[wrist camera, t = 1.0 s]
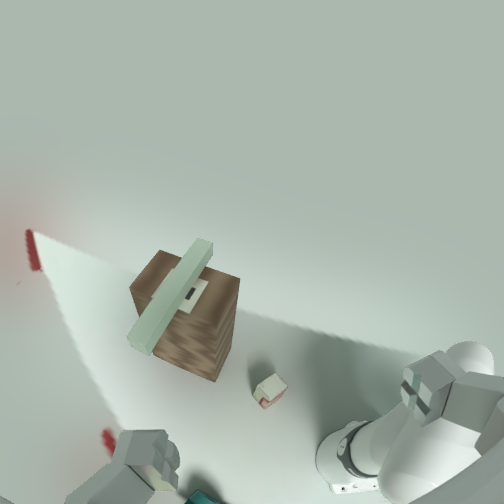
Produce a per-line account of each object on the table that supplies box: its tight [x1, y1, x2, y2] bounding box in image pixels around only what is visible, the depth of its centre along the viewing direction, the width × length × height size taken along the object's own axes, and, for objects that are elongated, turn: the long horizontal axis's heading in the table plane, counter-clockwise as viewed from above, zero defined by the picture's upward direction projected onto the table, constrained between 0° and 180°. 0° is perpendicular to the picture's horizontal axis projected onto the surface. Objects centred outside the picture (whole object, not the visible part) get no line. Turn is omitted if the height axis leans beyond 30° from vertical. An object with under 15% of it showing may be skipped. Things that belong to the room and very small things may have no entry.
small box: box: [253, 373, 288, 409], centre depth 54 cm, size 5×4×8 cm
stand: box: [129, 250, 240, 382], centre depth 54 cm, size 16×10×26 cm, turn 71°
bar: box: [127, 238, 213, 355], centre depth 42 cm, size 3×22×3 cm, turn 161°
